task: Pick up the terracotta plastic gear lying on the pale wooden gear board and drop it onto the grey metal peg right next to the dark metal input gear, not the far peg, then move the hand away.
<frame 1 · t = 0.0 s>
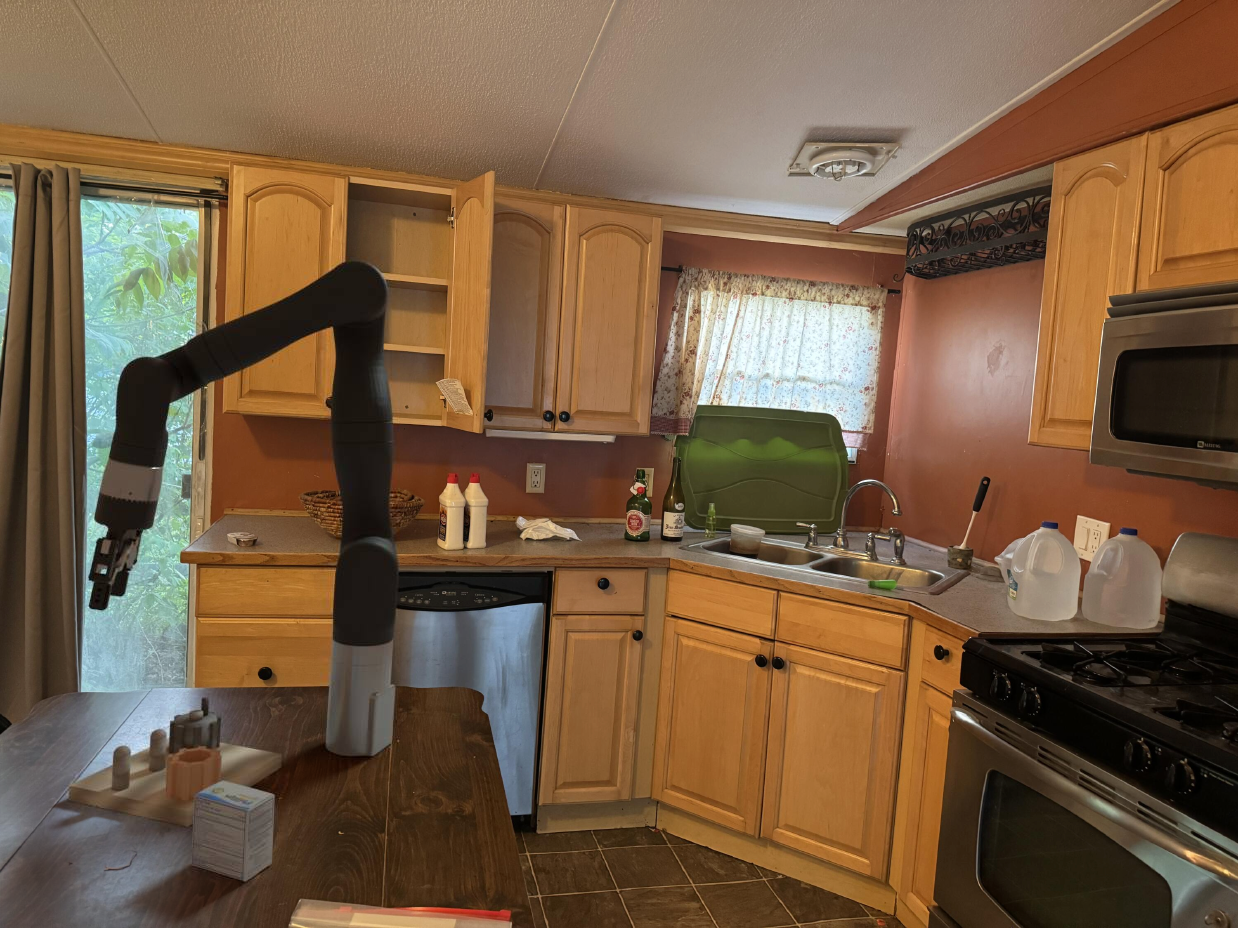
hand: (107, 602, 123), 22 cm above the table, tool pointing down, fingers open, 8 cm apart
loose gear: (193, 789, 112), point 2 cm above the table, touching gear board
medicine box: (231, 867, 99), on the table
gear board: (181, 782, 118), on the table
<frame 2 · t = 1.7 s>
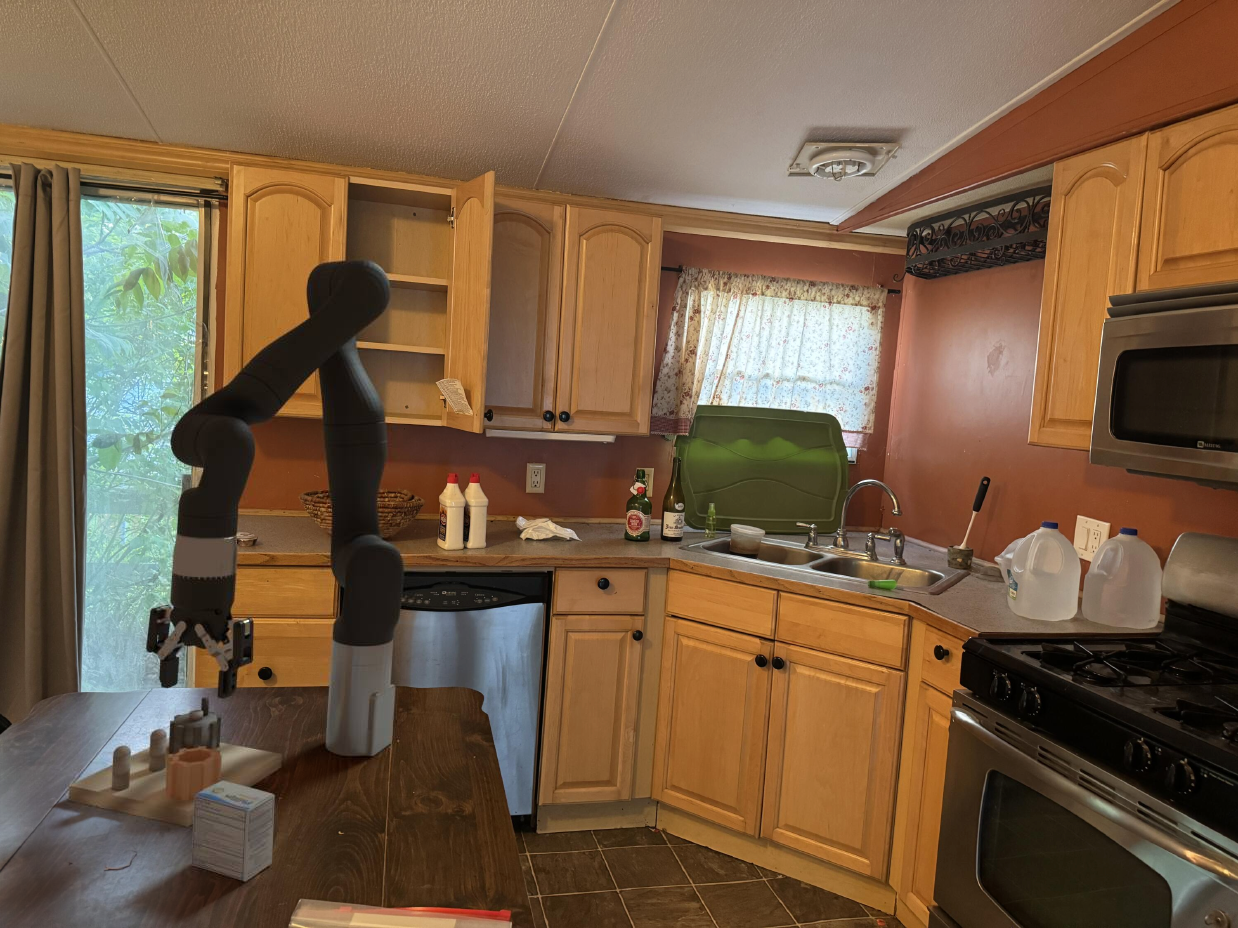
hand: (196, 691, 111), 15 cm above the table, tool pointing down, fingers open, 8 cm apart
nothing on the table moved.
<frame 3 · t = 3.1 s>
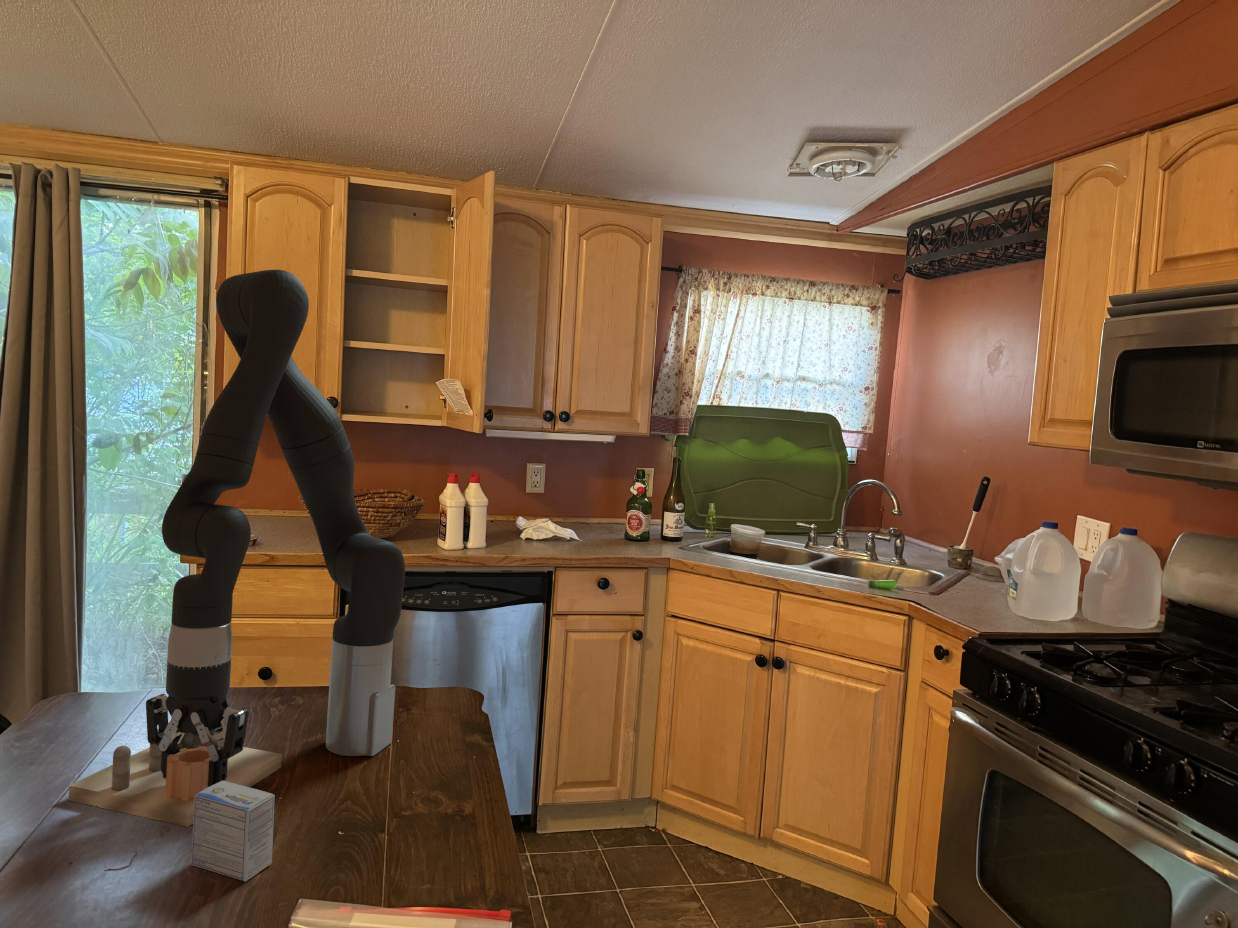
hand: (193, 780, 112), 3 cm above the table, tool pointing down, fingers closed on loose gear, 6 cm apart
loose gear: (192, 789, 112), point 2 cm above the table, touching gear board, gripper
everything else where it was.
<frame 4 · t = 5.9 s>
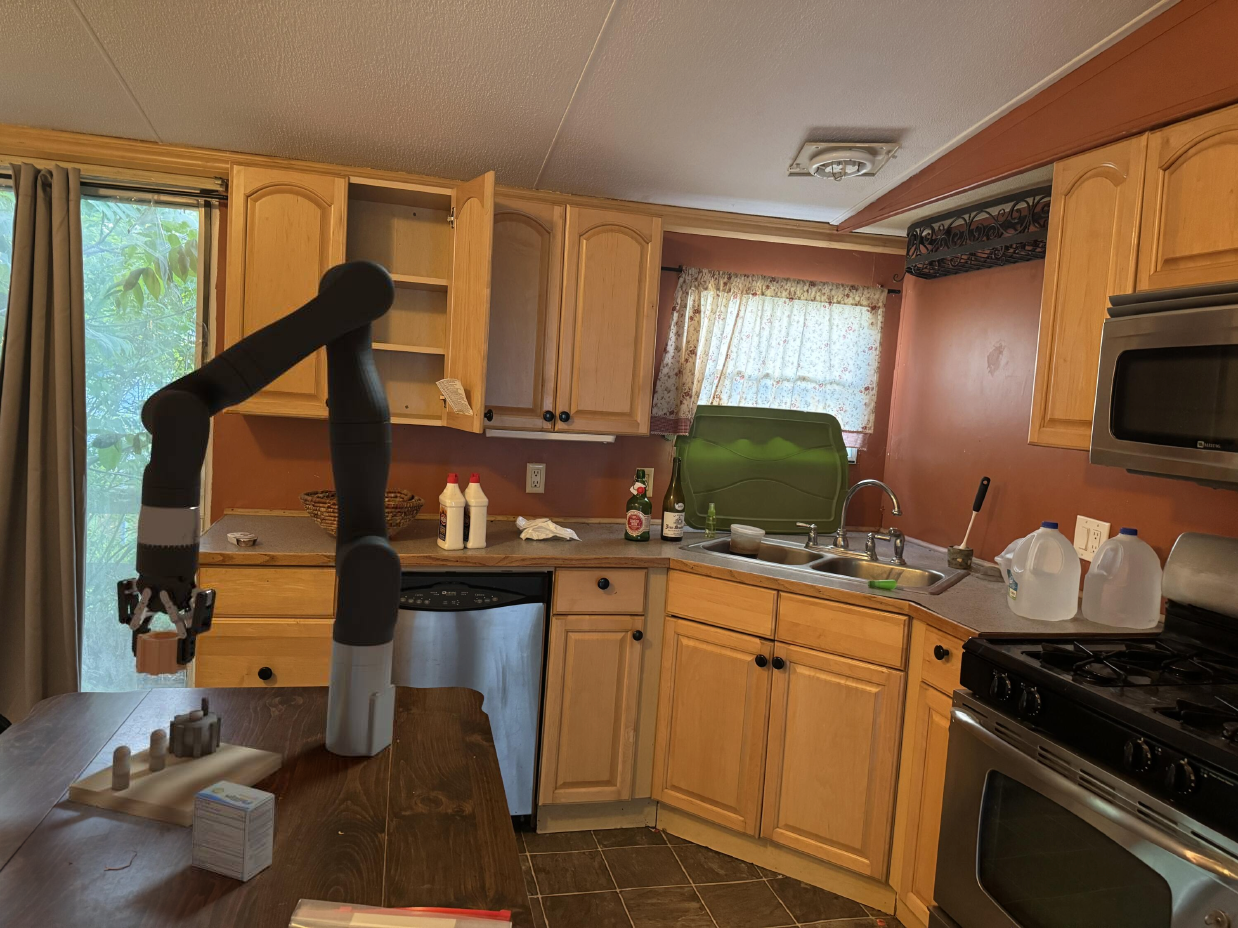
hand: (162, 659, 116), 17 cm above the table, tool pointing down, fingers closed on loose gear, 6 cm apart
loose gear: (162, 668, 116), point 16 cm above the table, touching gripper
everything else where it was.
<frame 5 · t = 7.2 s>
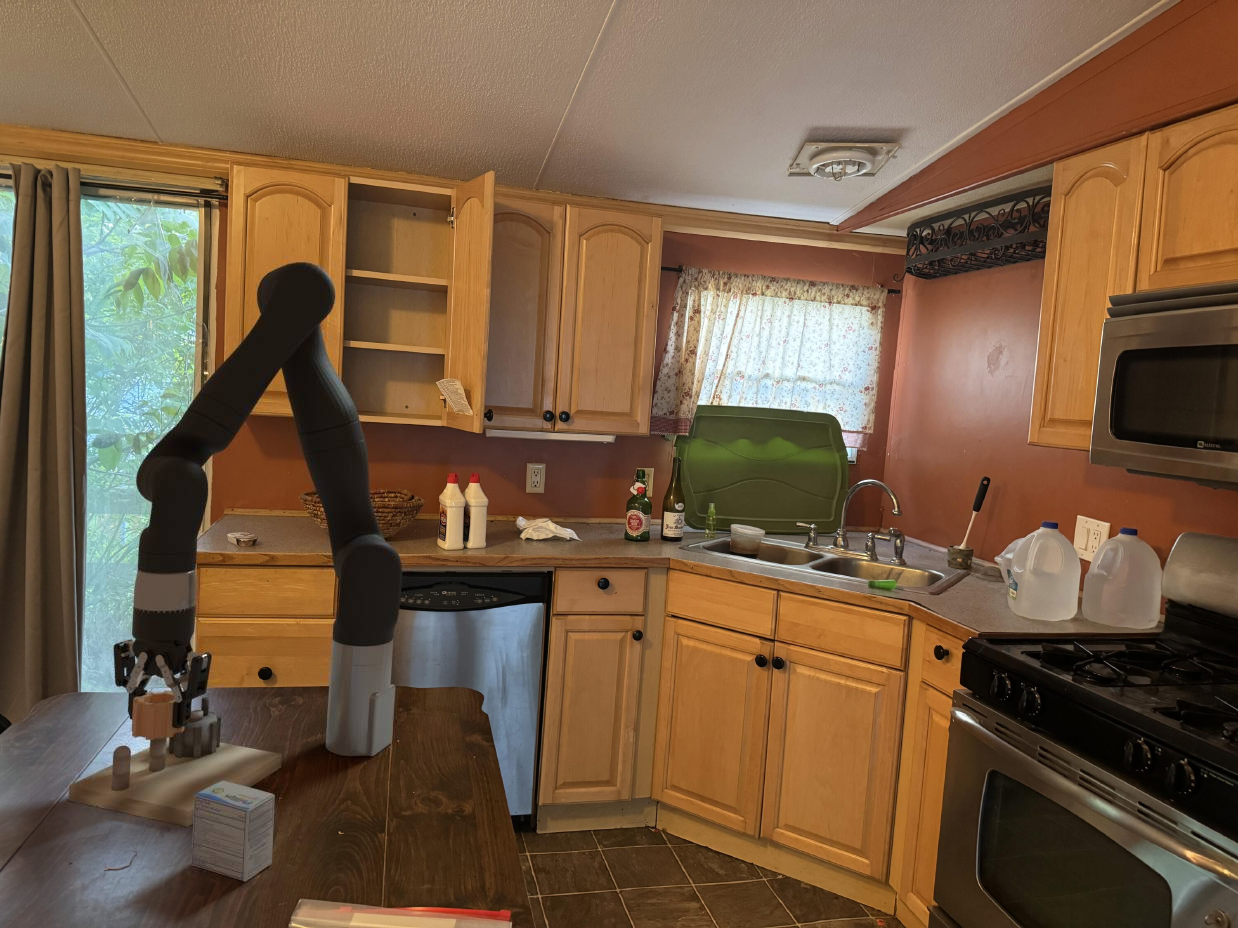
hand: (158, 721, 117), 9 cm above the table, tool pointing down, fingers closed on loose gear, 6 cm apart
loose gear: (158, 730, 117), point 7 cm above the table, touching gripper
everything else where it was.
when the fingers open (4 cm above the table, at t = 8.6 s): loose gear stays where it is, resting on gear board.
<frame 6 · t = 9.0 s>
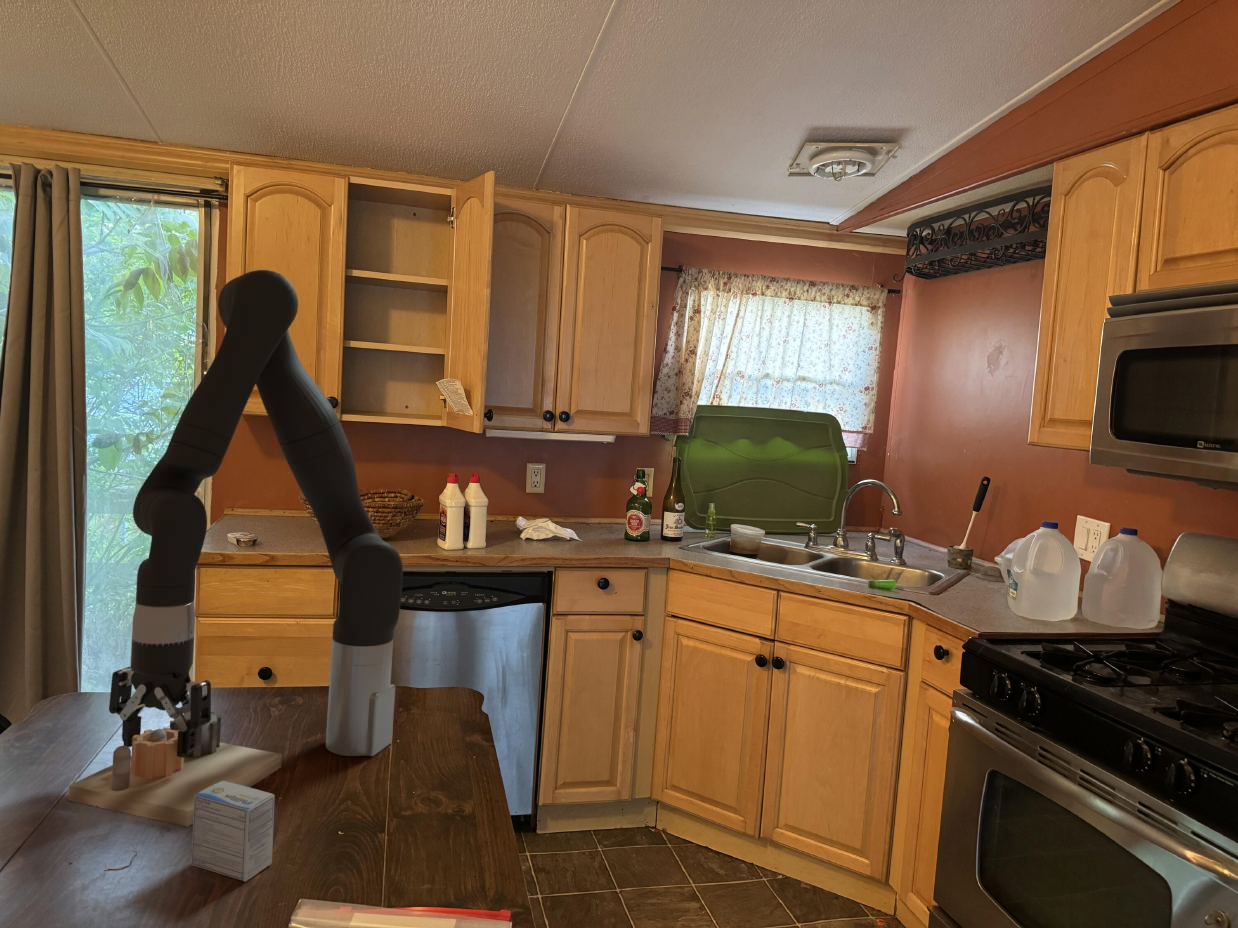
hand: (157, 749, 117), 5 cm above the table, tool pointing down, fingers open, 8 cm apart
loose gear: (157, 768, 117), point 2 cm above the table, touching gear board
everything else where it was.
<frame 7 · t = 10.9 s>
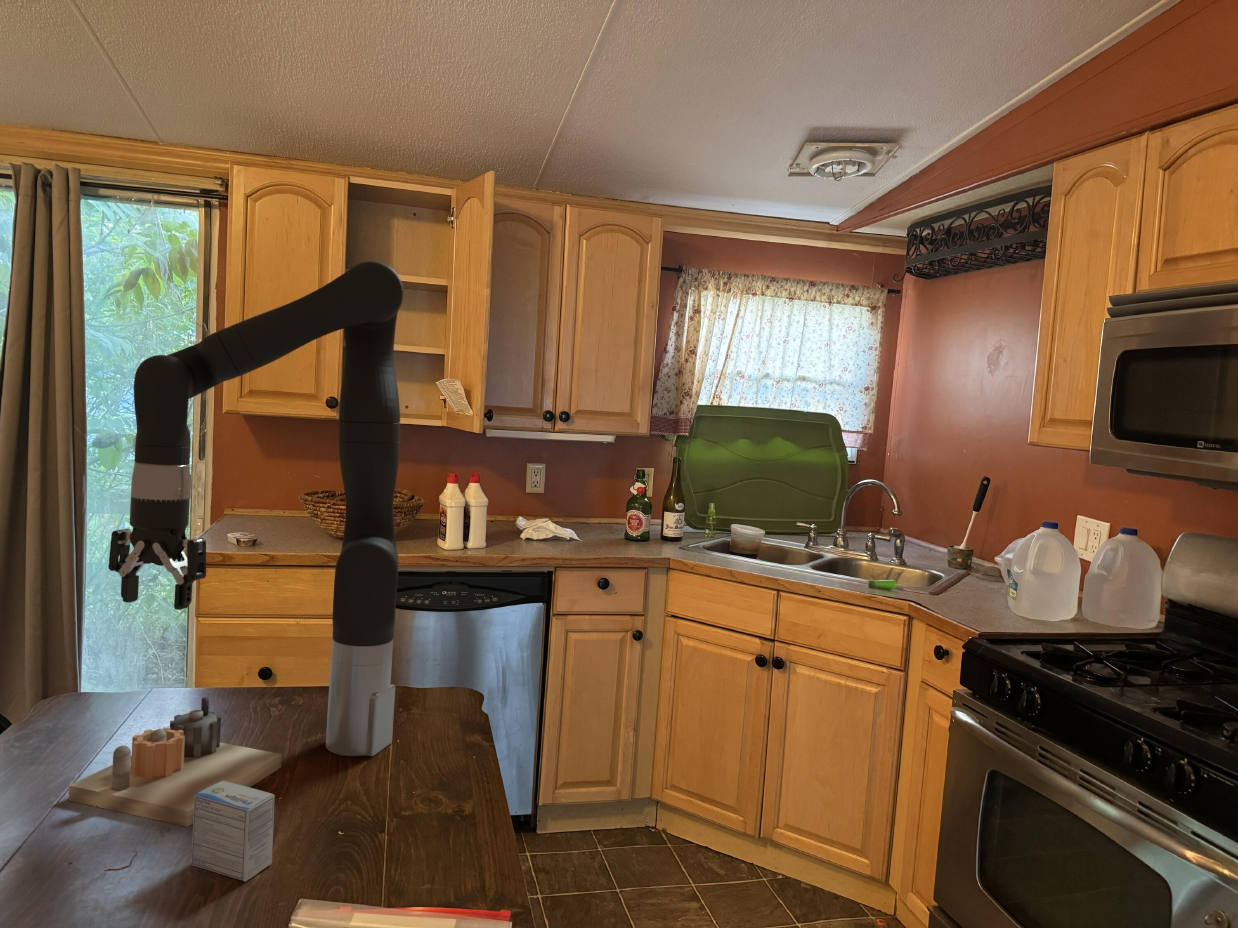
hand: (155, 604, 124), 22 cm above the table, tool pointing down, fingers open, 8 cm apart
nothing on the table moved.
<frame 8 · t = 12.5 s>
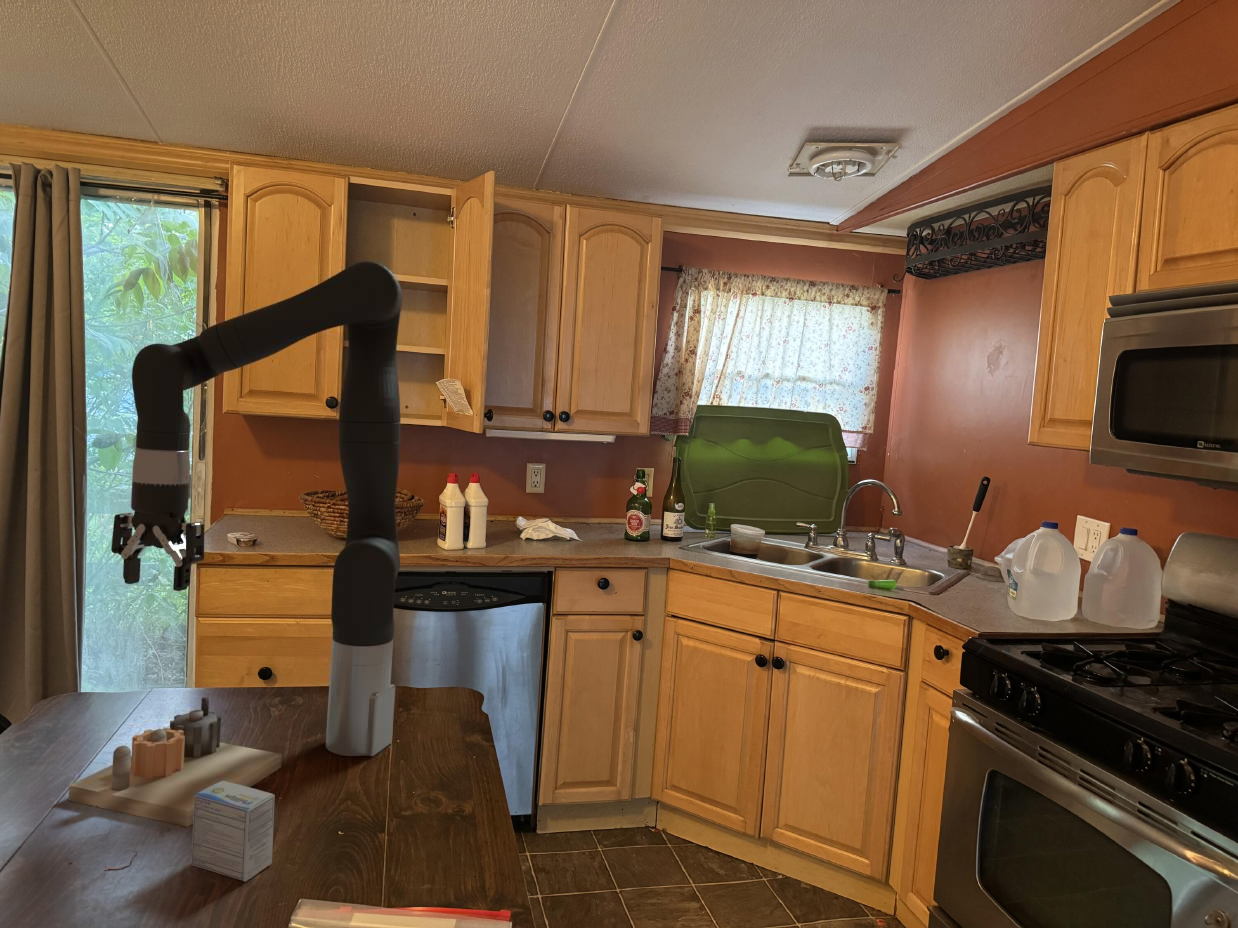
hand: (155, 586, 128), 24 cm above the table, tool pointing down, fingers open, 8 cm apart
nothing on the table moved.
at the end: loose gear 0.1 cm from the target spot on the gear board, point 2.0 cm above the gear board's base; loose gear tilted 0°; the gripper is holding nothing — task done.
